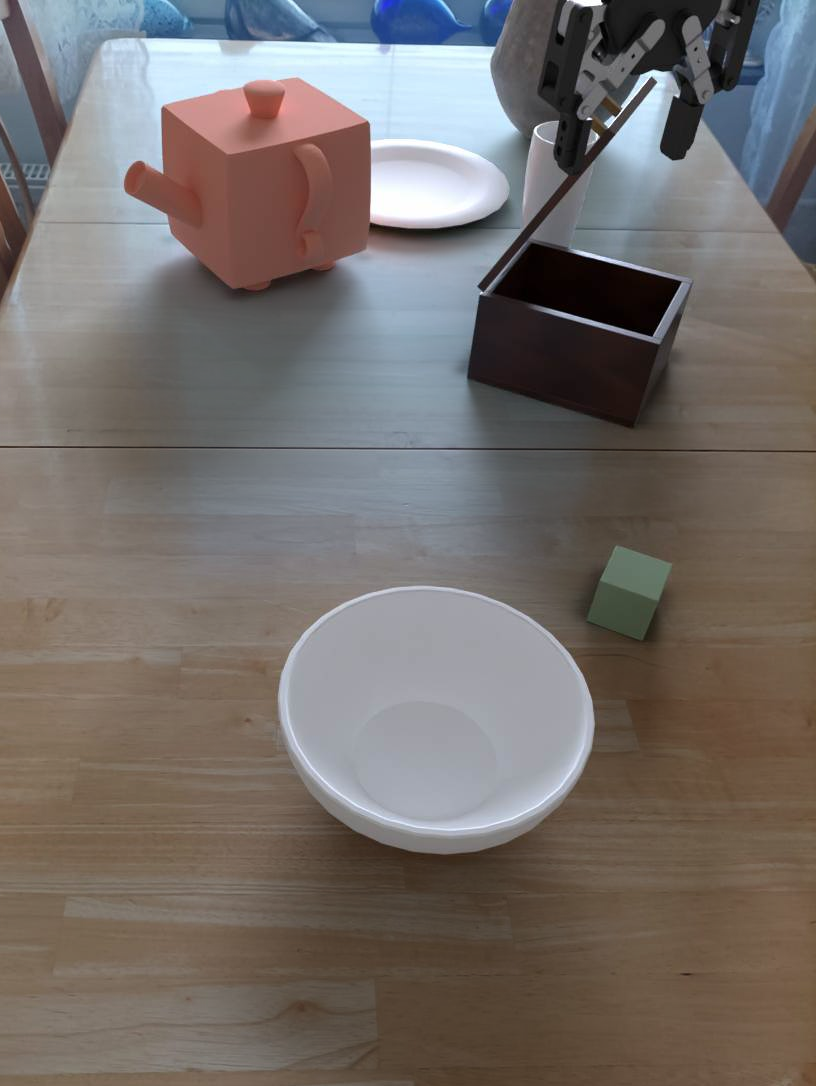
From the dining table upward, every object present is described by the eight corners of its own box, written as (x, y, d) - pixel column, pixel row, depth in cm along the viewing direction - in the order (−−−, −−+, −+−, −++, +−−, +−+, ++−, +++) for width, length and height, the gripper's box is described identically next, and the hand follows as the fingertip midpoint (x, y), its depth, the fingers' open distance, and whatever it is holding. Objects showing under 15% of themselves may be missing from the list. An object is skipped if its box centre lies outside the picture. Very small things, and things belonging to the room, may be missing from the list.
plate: (268, 184, 122) (268, 171, 121) (409, 135, 133) (411, 122, 132) (407, 262, 110) (408, 247, 109) (549, 200, 121) (552, 187, 120)
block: (657, 604, 76) (673, 563, 72) (642, 641, 73) (658, 601, 70) (602, 585, 77) (616, 544, 74) (585, 621, 74) (599, 580, 71)
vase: (555, 177, 126) (601, -53, 107) (454, 127, 136) (479, -92, 117) (651, 141, 135) (709, -78, 116) (550, 97, 144) (588, -112, 125)
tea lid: (657, 81, 82) (612, 37, 81) (615, 134, 74) (564, 86, 74) (529, 234, 96) (489, 198, 95) (483, 292, 88) (439, 253, 88)
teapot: (189, 342, 98) (171, 160, 84) (95, 248, 110) (67, 76, 97) (390, 279, 107) (403, 106, 94) (283, 199, 120) (282, 35, 106)
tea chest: (667, 362, 98) (694, 279, 92) (633, 429, 91) (660, 344, 84) (511, 318, 103) (526, 236, 96) (466, 378, 95) (479, 294, 89)
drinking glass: (503, 282, 108) (527, 141, 96) (514, 254, 112) (538, 116, 101) (563, 293, 107) (595, 151, 95) (572, 264, 111) (604, 125, 100)
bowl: (341, 621, 73) (345, 553, 68) (596, 700, 69) (622, 634, 64) (229, 832, 61) (223, 768, 56) (530, 943, 57) (555, 887, 52)
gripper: (621, -102, 52) (559, 200, 64) (832, -115, 56) (736, 172, 68) (551, -133, 57) (506, 154, 69) (751, -144, 60) (674, 131, 73)
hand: (620, 163), depth 68 cm, fingers open, 8 cm apart
